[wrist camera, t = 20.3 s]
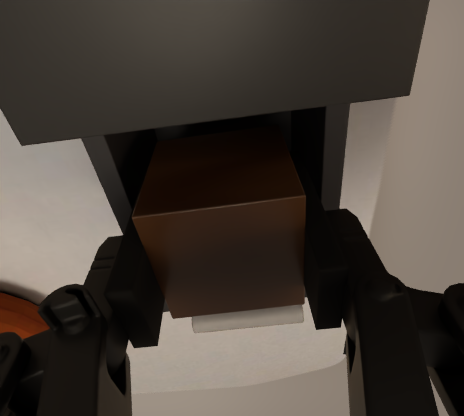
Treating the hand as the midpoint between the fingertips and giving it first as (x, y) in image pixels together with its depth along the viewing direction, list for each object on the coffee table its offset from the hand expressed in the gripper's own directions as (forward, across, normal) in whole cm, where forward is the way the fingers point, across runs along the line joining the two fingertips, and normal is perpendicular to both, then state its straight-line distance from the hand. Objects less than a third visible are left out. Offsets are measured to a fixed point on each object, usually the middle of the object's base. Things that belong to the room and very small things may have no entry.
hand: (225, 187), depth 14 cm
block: (0, 0, 0) cm, 0 cm away
